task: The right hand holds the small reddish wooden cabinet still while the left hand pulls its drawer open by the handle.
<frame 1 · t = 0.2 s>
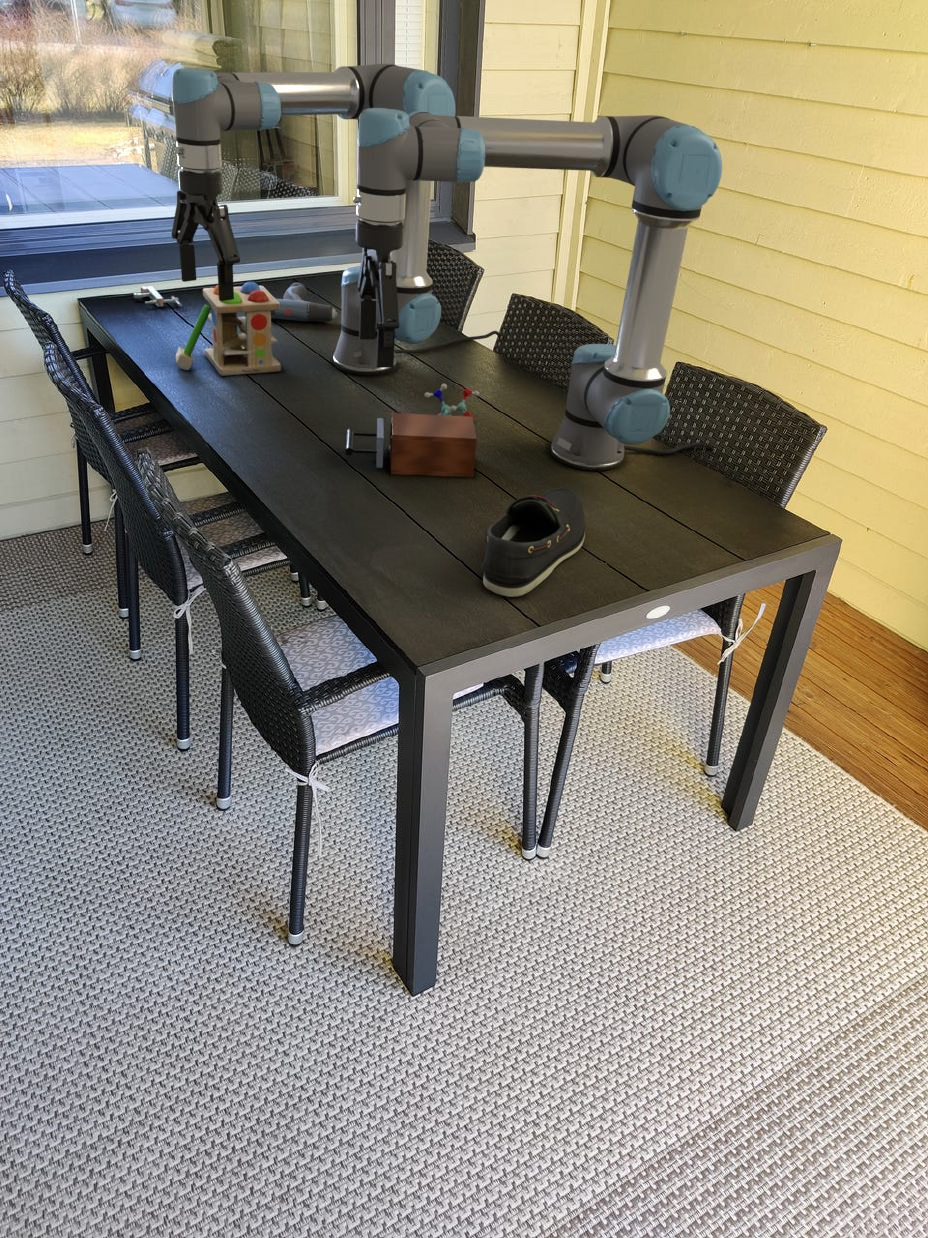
left hand: (207, 290, 186), 28 cm above the table, tool pointing down, fingers open, 13 cm apart
right hand: (375, 352, 165), 28 cm above the table, tool pointing down, fingers open, 13 cm apart
cabinet: (430, 463, 196), on the table
molecular model: (448, 422, 213), on the table
pounding bench toy: (225, 365, 230), on the table
drawer: (399, 443, 193), point 4 cm above the table, slide at 1.6 cm
boat shoe: (533, 552, 170), on the table
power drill: (305, 313, 267), on the table
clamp: (156, 302, 264), on the table
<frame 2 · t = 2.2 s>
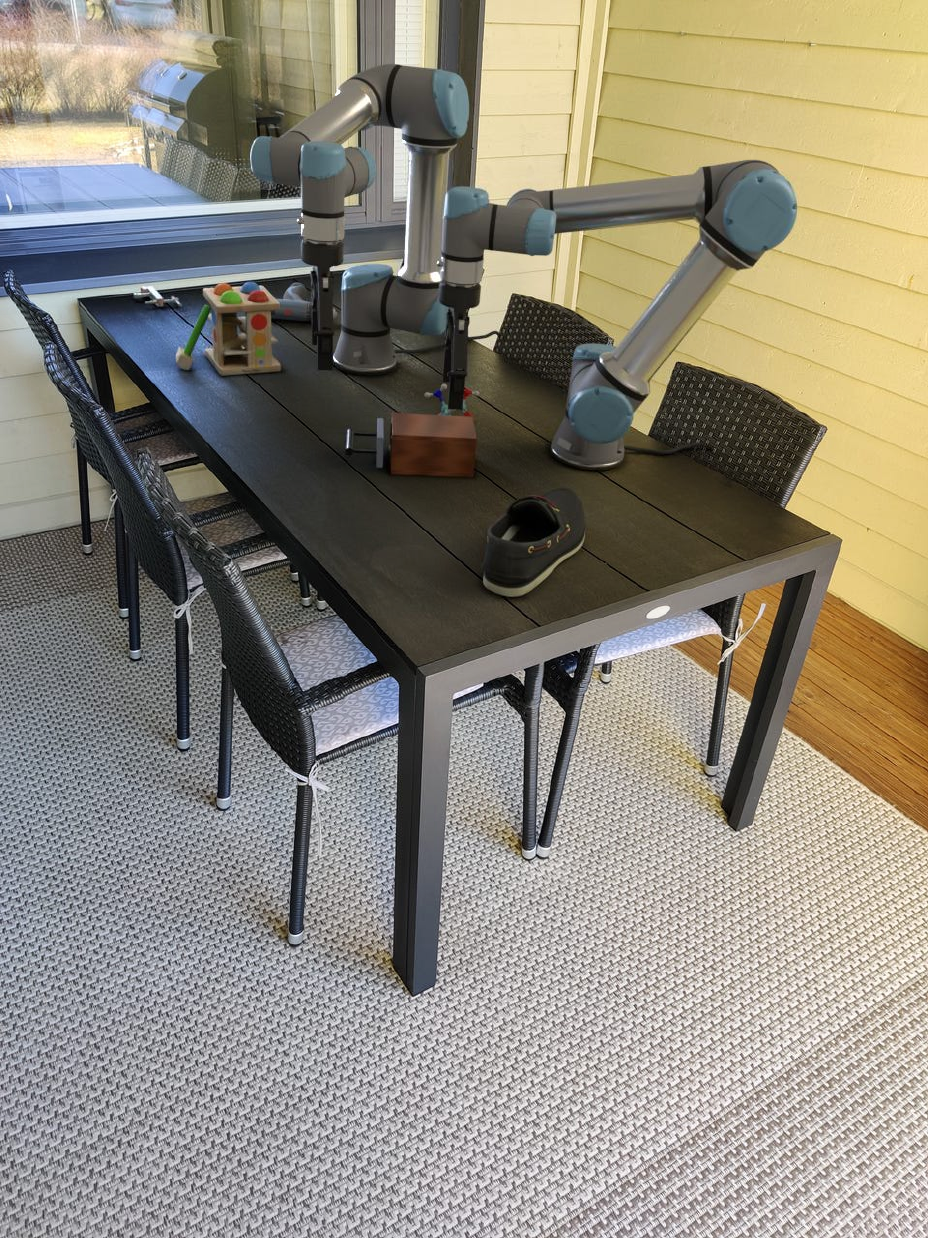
left hand: (321, 356, 185), 20 cm above the table, tool pointing down, fingers open, 13 cm apart
right hand: (452, 394, 187), 15 cm above the table, tool pointing down, fingers open, 13 cm apart
nothing on the table moved.
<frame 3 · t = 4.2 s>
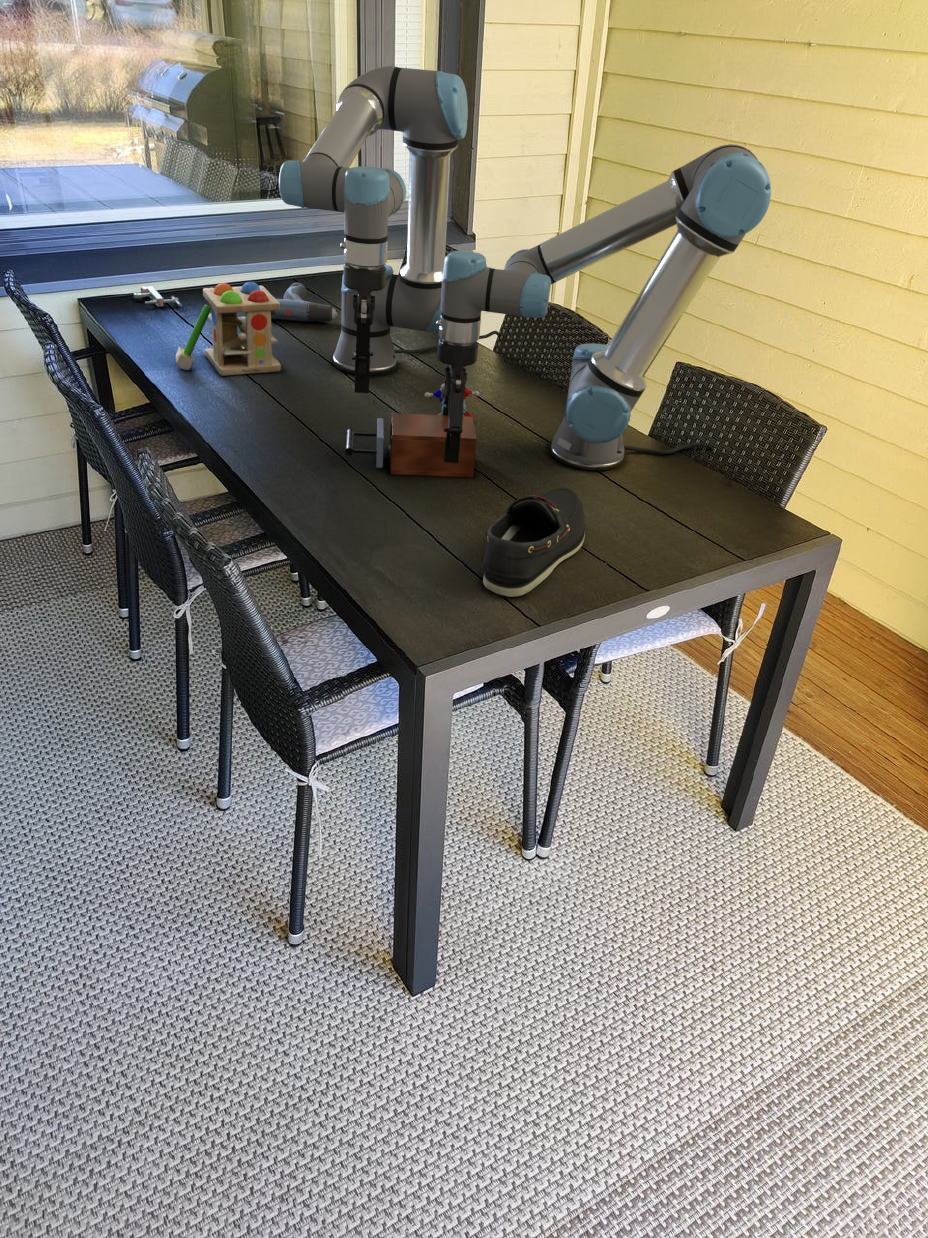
left hand: (361, 391, 186), 14 cm above the table, tool pointing down, fingers closed
right hand: (449, 449, 194), 3 cm above the table, tool pointing down, fingers closed on cabinet, 11 cm apart
cabinet: (430, 463, 196), on the table, touching right hand
everything else where it was.
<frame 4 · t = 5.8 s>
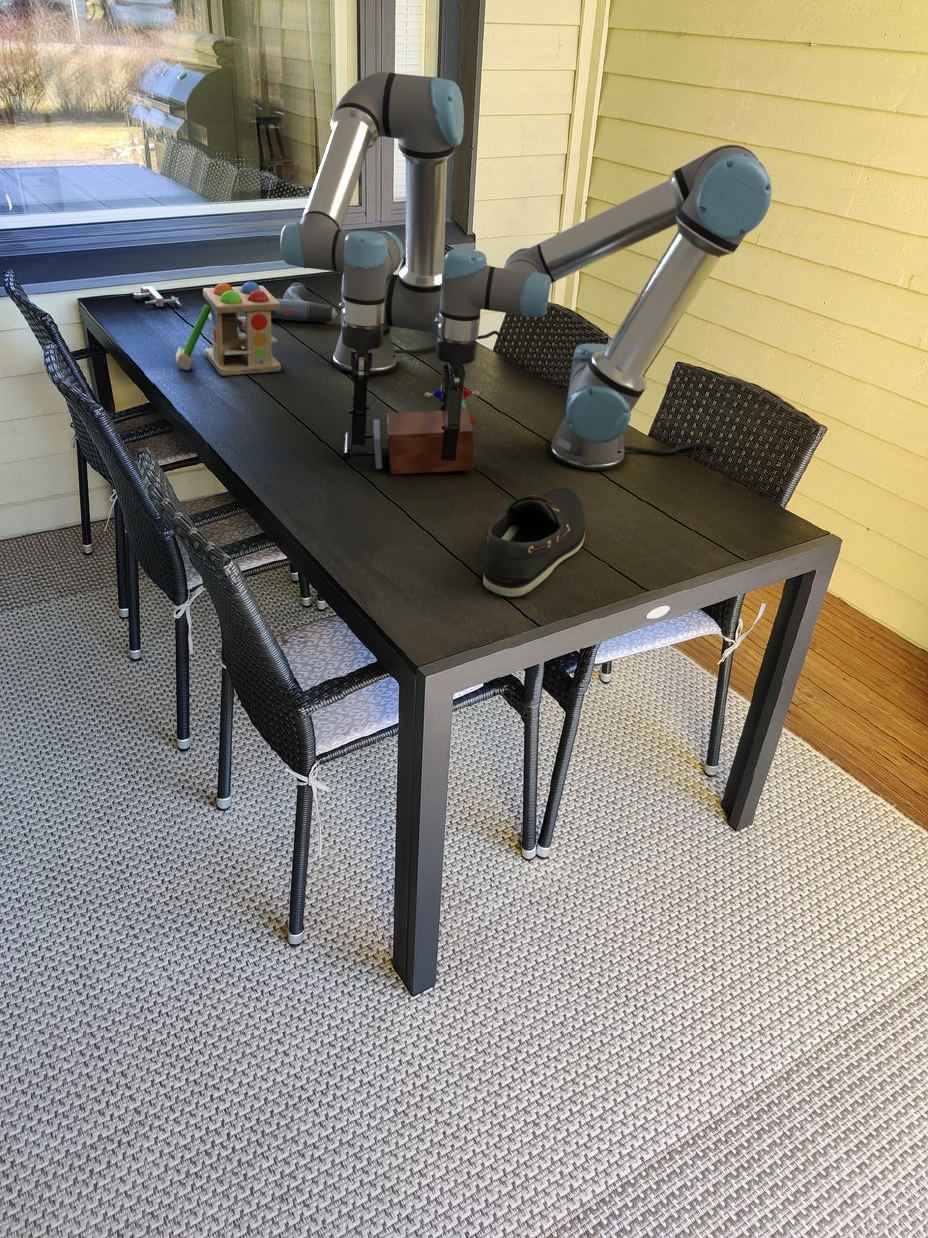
left hand: (358, 443, 192), 4 cm above the table, tool pointing down, fingers closed
right hand: (446, 447, 194), 4 cm above the table, tool pointing down, fingers closed on cabinet, 11 cm apart
cabinet: (430, 460, 195), point 1 cm above the table, tilted 6°, touching right hand
drawer: (397, 442, 192), point 4 cm above the table, slide at 1.6 cm, touching left hand
everything else where it was.
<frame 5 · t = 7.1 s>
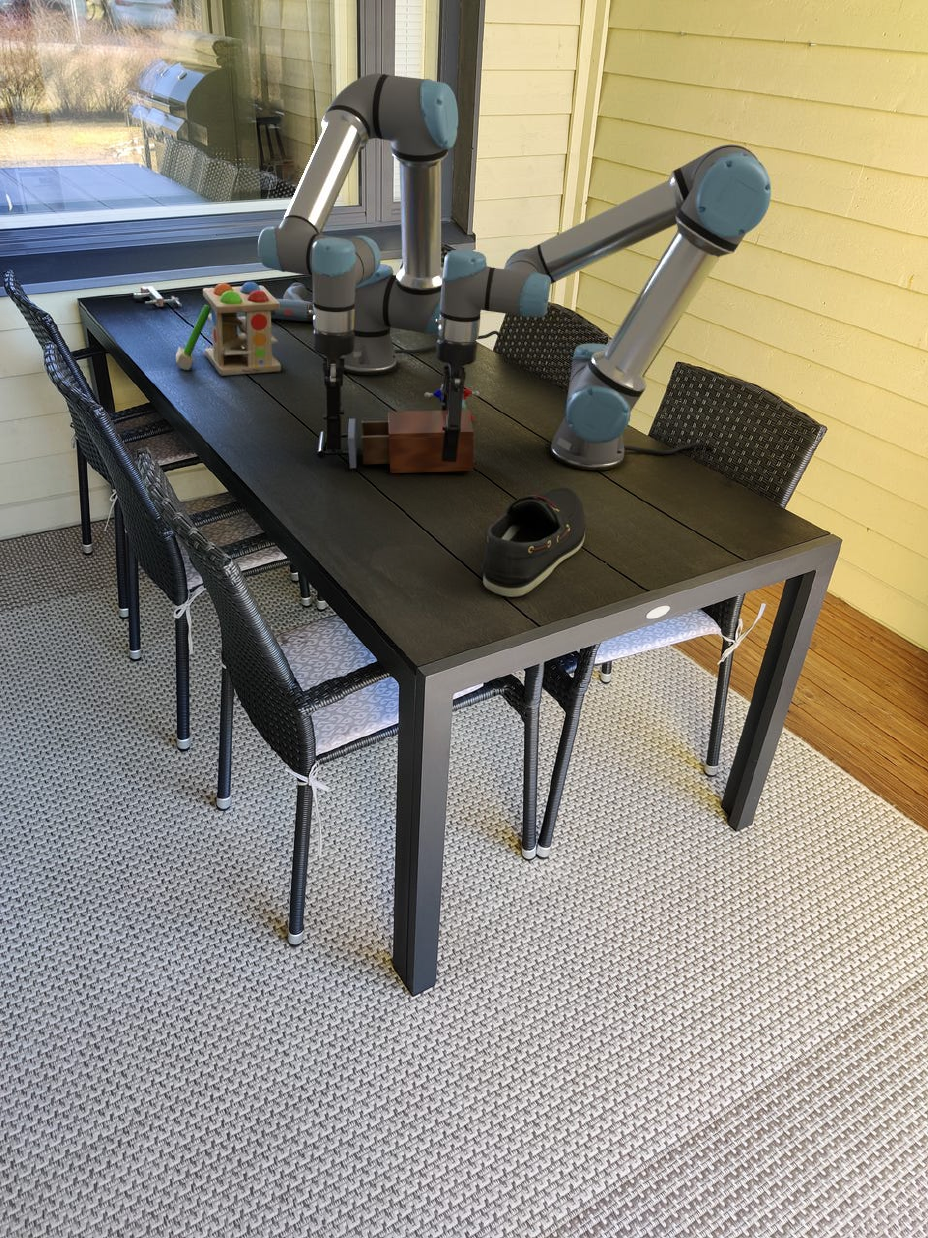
left hand: (334, 447, 192), 2 cm above the table, tool pointing down, fingers closed
right hand: (447, 448, 194), 4 cm above the table, tool pointing down, fingers closed on cabinet, 11 cm apart
cabinet: (430, 460, 195), point 1 cm above the table, touching right hand
drawer: (372, 442, 192), point 4 cm above the table, slide at 6.6 cm, touching left hand
everything else where it was.
when the right hand's fingers open (3 cm above the table, at t = 8.6 s): cabinet stays where it is, on the table.
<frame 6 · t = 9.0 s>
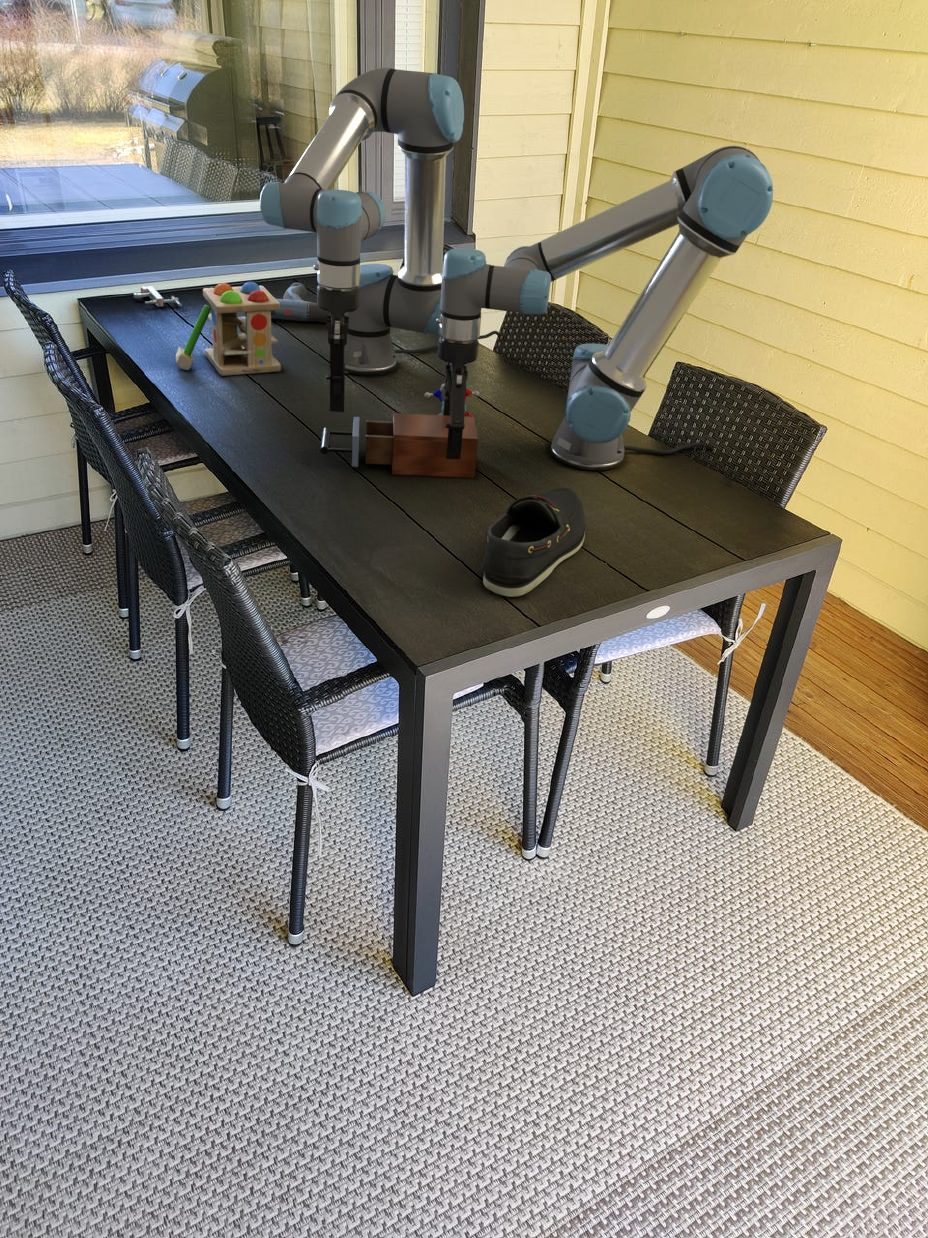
left hand: (337, 410, 188), 10 cm above the table, tool pointing down, fingers closed
right hand: (451, 443, 193), 5 cm above the table, tool pointing down, fingers open, 13 cm apart
cabinet: (432, 464, 196), on the table
drawer: (375, 442, 192), point 4 cm above the table, slide at 6.6 cm
everything else where it was.
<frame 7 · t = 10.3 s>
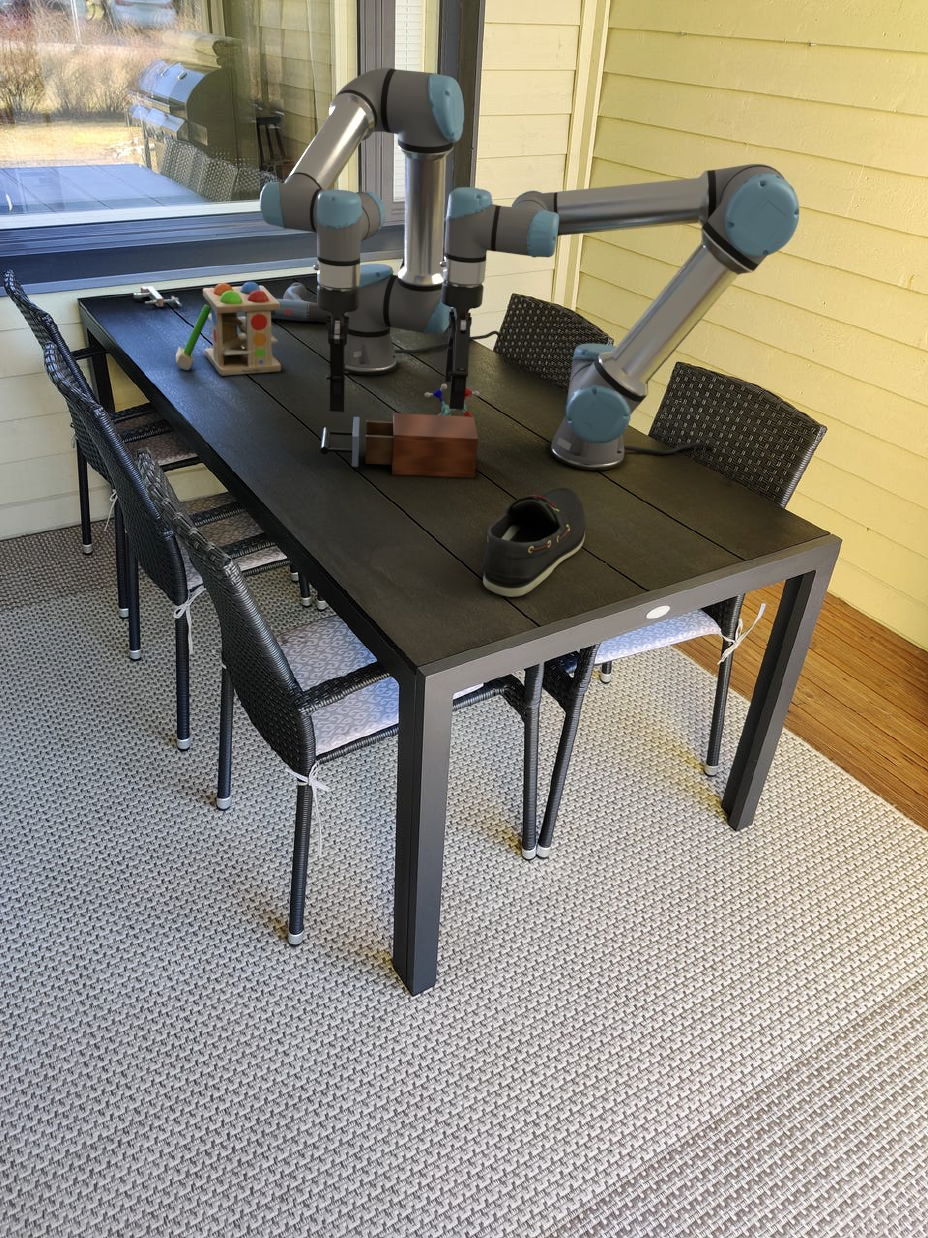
left hand: (337, 410, 188), 10 cm above the table, tool pointing down, fingers closed
right hand: (453, 394, 188), 15 cm above the table, tool pointing down, fingers open, 13 cm apart
nothing on the table moved.
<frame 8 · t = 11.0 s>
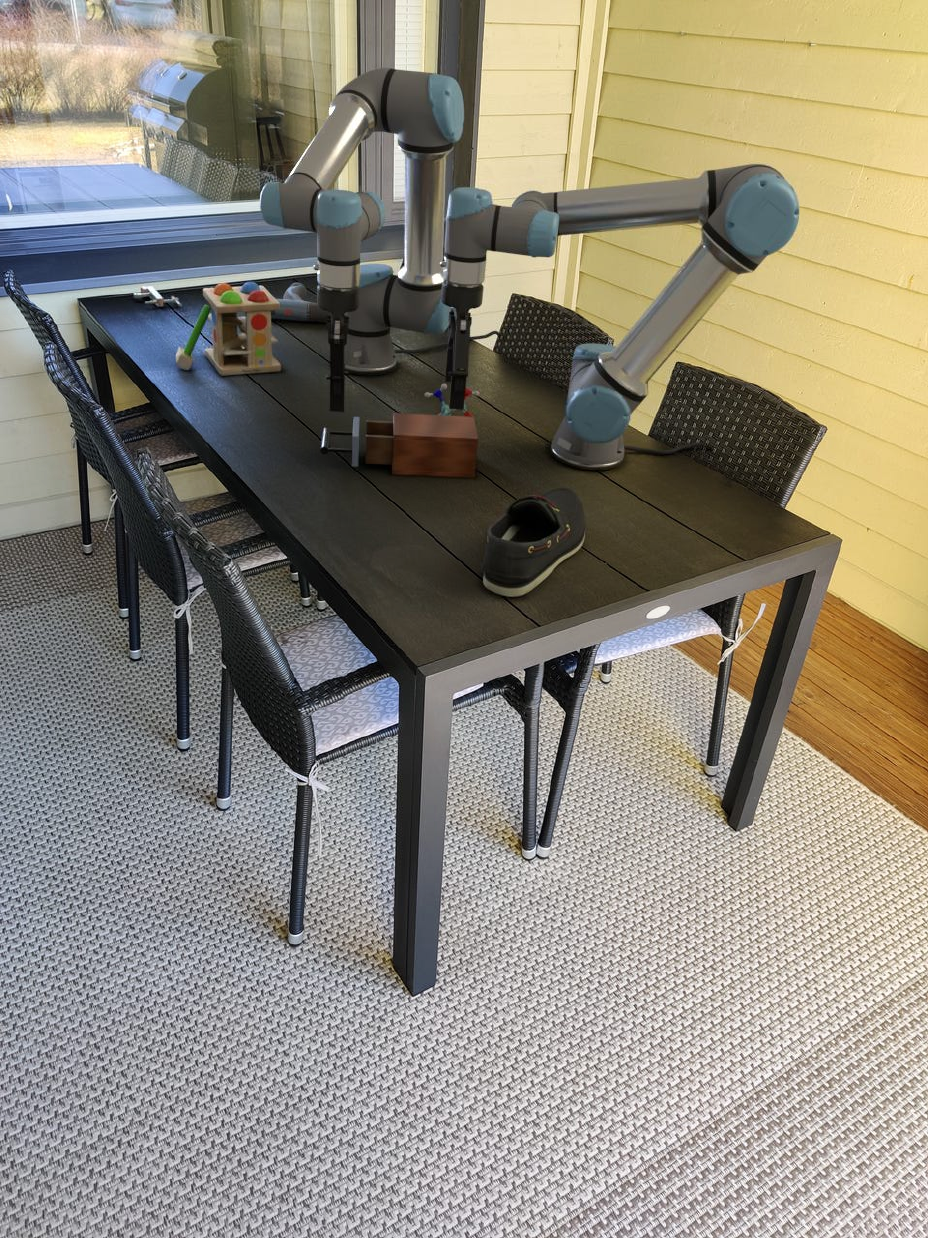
left hand: (337, 410, 188), 10 cm above the table, tool pointing down, fingers closed
right hand: (453, 394, 188), 15 cm above the table, tool pointing down, fingers open, 13 cm apart
nothing on the table moved.
at the end: drawer slide at 6.6 cm; cabinet tilted 0°; cabinet never tilted more than 7° during the clip; cabinet moved 0.3 cm from its start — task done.
